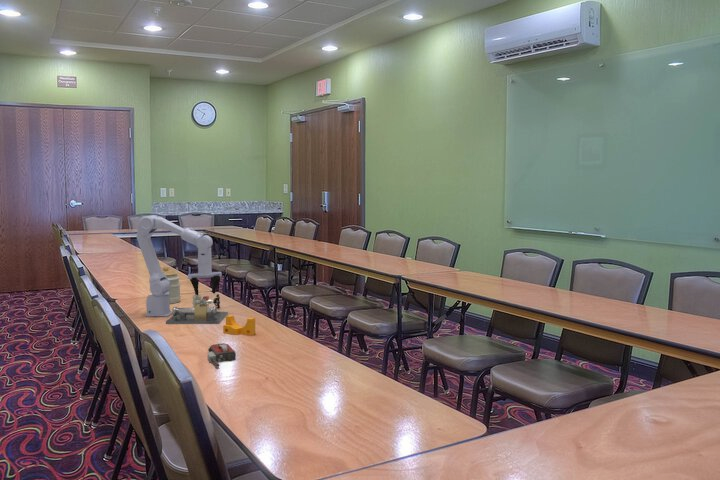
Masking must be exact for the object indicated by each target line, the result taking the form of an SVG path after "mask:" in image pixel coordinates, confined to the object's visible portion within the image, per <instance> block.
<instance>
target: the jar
mask: <svg viewBox="0 0 720 480" xmlns="http://www.w3.org/2000/svg"><path fill="white" fill-rule="evenodd" d="M161 270H162V272H163V273H164V274H165V275H166V277H167V279H168V280H169V281H170V282H171V288H170V290H169V298H170V305H172V304H176V303H179V302H181V283H180V279H181V277H180V276H179V275H178V274H179V272H178V271H176V270H174V269H169V266H167V265H165V266H163V267H162V269H161Z"/></svg>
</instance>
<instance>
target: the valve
mask: <svg viewBox="0 0 720 480" xmlns="http://www.w3.org/2000/svg"><path fill="white" fill-rule="evenodd" d="M220 298H221V297H220V294H217V293H216V296H215V298H214V299H209V300H208V301H205V302H204V304H209V305H210V304H212V303H213V304H214V307H217V309H220V308H221V305H220V304H221V301H220ZM201 299H202V295H201V294H198V295H195V294H193V295H192V308H194V307H195V306H196V305H197V304H200V300H201Z"/></svg>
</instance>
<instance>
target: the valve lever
mask: <svg viewBox="0 0 720 480" xmlns="http://www.w3.org/2000/svg"><path fill="white" fill-rule="evenodd" d="M208 300H210V296H209V295H204V296H202V298H201V300H200V306H203V305H204V302H205V301H208Z"/></svg>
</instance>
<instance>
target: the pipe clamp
mask: <svg viewBox="0 0 720 480" xmlns="http://www.w3.org/2000/svg"><path fill="white" fill-rule="evenodd" d="M222 330H223V331H222V333H223V334H227V335H235V336H238V335H243V336H244V335H245V336H254V335H256V317H248V318H246V323H245V325H244V326H241V325H239V323H237V322H236V319H235V315H234V314H233V315H232V314H229V315H228V314H227V315H226V317H225V324H223V325H222Z"/></svg>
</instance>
